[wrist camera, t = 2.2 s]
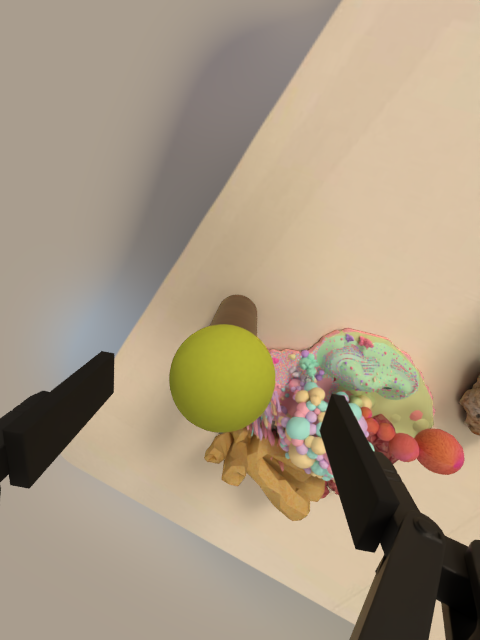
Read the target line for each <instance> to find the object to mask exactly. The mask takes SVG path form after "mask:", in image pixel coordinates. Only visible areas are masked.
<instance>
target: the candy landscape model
mask: <svg viewBox="0 0 480 640" xmlns="http://www.w3.org/2000/svg"><path fill="white" fill-rule="evenodd" d="M269 353H270V355H271V357H272V360H273V364H274V367H275V388H274V392H273V395H272V398H271V401H270V403H269V405H268V406H267V408H266V409H265V411H264V412H263V413H262V414H261V415H260V417H259V418H258V419H257V420H255V421H254V422H253V423H251V424H250V425H248V426H246V427H244V428H242V429H240V430H236V431H232V432H224V433H221V432H218V433H219V434H220V435H218V436H216V437H215V439H214V441H213V442H212V444H211V446H210V447H209V448H208V449H207V450H206V453H205V457H204V458H205V460H206V461H207V462H212V463H217V464H219V463H220V462H221V461H223V460H224V459H225V460H224V465H223V473H222V480H223V481H224V482H226V483H228V484H231V485H234V486H239V484H240V483H241V482H242V480H243V479H244V478H245V476H246V472H247V473H248V474H249V475H250V476H251V477H252V478H253V479H254V481H255V482H256V483H257V484H258V485H259V486H260V487H261V488H262V490H263V491H264V493H265V494H266V496H267V497H268V499H269V500H270V501H271V502H272V504H273V505H274V506H275V507H276V508H277V509H278V510H279V511H280V512H282V513H283V514H284V515H285V516H286V517H287V518H289V519H290V520H292V521H298V520H302V519H303V518H305V517H306V516H307V515H308V513H309V511H310V501H315V502H318V501H319V499H320V498H325V497H326V496H327V495H328V494H329V493H330V492H329V490H328V488H327V486H329V488H330V489H331V490H332V491H335V494H338V495H339V493H338V490H337V486H336V483H335V480H334V477H333V473H332V470H331V467H330V463H329V460H328V457H327V454H326V450H325V447H324V444H323V441H322V437H321V434H320V431H319V430H320V427H321V424H322V421H323V418H324V415H325V412H326V409H327V406H328V403H329V400H330V397H331V394H338V395H343V396H345V398H346V400H347V402H348V404H349V406H350V407H351V409H352V411H353V413H354V415H355V417H356V419H357V421H358V423H359V425H360V427H361V429H362V431H363V433H364V434H365V436H366V438H367V440H368V442H369V444H370V446H371V448H372V450H373V451H376V452H382V453H383V454H384V455H385V456H386V457H387V458H388V459H389V460H390V461H391V462H392V464H394V463H395V462H396V461H397V460H401V461H403V462H410V461H413V460H415V459H416V458H417V459H418V461H419V462H420V463H421V464H422V465H423V466H424V467H426V468H427V469H428V470H430V471H432V472H434V473H438V474H445V475H449V474H453V473H455V472H457V471H458V470H460V468H461V467H462V466H463V463H464V452H463V448H462V446H461V445H460V444H459V442H458V441H457V440H456V439H455V438H454V436H452V435H450V434H449V433H447V432H445V431H443V430H441V429H431V428H432V426H433V425H434V424H433V416H434V414H435V409H434V407H433V403H432V400H433V396H432V395H431V392H430V390H429V387H428V386H427V385H425V384H424V382H423V380H424V377H423V376H422V372H421V371H419V370H418V369H417V368H416V367H415V365H414V364H413V361H412V359H411V357H410V355H409V354H407V353H406V352H404V351H400V350H399V348H398V347H396V346H395V345H393V344H392V342H391V341H390V340H389V339H387V338H385V337H381V336H378V335H374V334H370V333H366V332H362V331H358V330H354V329H349V328H345V329H343V330H341V331H339V330H335V331H333V332H331V333H329V334H327V335H325V336H323V337H322V338H321V339H320V341H319V342H318V343H316V344H315V345H314V346H313V347H312V348H311V349H309V350H303V351H301V352H299V351H295V350H291V349H284V350H282V351H278V350H274V349H272V350H269ZM229 447H230V448H229Z"/></svg>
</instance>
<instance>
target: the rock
mask: <svg viewBox="0 0 480 640" xmlns="http://www.w3.org/2000/svg"><path fill="white" fill-rule="evenodd" d="M459 405H462V406H463V407H464V409H465V411H466V412H467V417H466V421H464V423H465V424H467V426H468V427H469V429H470V430H471V432H472V433H474V434H477V435H480V374H479V376H478V378H477V382H476V384H473V388H472V389H471V390H470V389H468V390H467V391H466V392H465V394H464V395H463V396H462V398H461V399H460V403H459Z"/></svg>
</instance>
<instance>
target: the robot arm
mask: <svg viewBox="0 0 480 640" xmlns="http://www.w3.org/2000/svg"><path fill="white" fill-rule="evenodd" d="M113 393H114V353H109V352H103V351H101V352H100V353H99V354H98V355H96V356H95V357H94V358H92V359H91V360H90V361H89V362H87V363H86V364H85V365H84V366H83V367H81V368H80V369H78V370H77V371H76V372H75V373H73V374H72V375H71V376H70V377H69V378H67V379H66V380H65V381H63V382H62V383H61V384H60V385H58V386H57V387H56V388H54V389H53V390H52V391H51V392H47V391H41V392H39V393H37V394H34V395H32V396H30V397H29V398H27V399H26V400H25V401H24V402H22V403H21V404H20V405H18V406H17V407H15V408H14V409H13V410H12V411H10V412H8V413H7V414H6V415H4V416H3V417H2V418H0V482H1V481H2V480H3V479H4V478H5V477H6V476H7V475H8V474H9V479H10V485H13V486H18V487H24V488H30V487H31V486H32V485H33V484H34V483H35V481H36V480H37V479H38V478H39V477H40V476H41V475H42V474H43V472H44V471H45V470H46V469H47V468H48V467H49V466H50V464H51V463H52V462H53V461H54V460H55V459H56V458H57V456H58V455H59V454H60V453H61V452H62V451H63V450H64V449H65V447H66V446H67V445H68V444H69V443H70V442H71V441H72V439H73V438H74V437H75V436H76V435H77V434H78V433H79V431H80V430H81V429H82V428H83V427H84V426H85V425H86V423H87V422H88V421H89V420H90V419H91V418H92V417H93V415H94V414H95V413H96V412H97V411H98V410H99V409H100V408H101V406H102V405H103V404H104V403H105V402H106V401H107V400H108V398H109V397H110V396H111V395H112V394H113ZM319 431H320V434H321V437H322V441H323V444H324V447H325V450H326V454H327V457H328V460H329V463H330V467H331V470H332V473H333V477H334V480H335V483H336V486H337V490H338V493H339V496H340V500H341V503H342V506H343V509H344V513H345V516H346V519H347V522H348V526H349V529H350V532H351V536H352V539H353V542H354V545H355V549H358V550H363V551H368V552H374V553H375V551H376V549H377V547H378V545H379V543H381V546H382V549H383V551H384V556H383V558H382V560H381V562H380V564H379V566H378V567H377V569H376V571H375V572H376V575H375V577H374V580H373V582H372V585H371V587H370V590H369V592H368V595H367V597H366V600H365V602H364V605H363V607H362V610H361V612H360V615H359V617H358V620H357V622H356V625H355V627H354V630H353V632H352V635H351V637H350V640H428V639H429V634H430V628H431V623H432V618H433V613H434V607H435V602H436V599H437V600H438V601H440V602H441V604H442V612H443V620H444V628H445V636H446V640H480V540H474V541H473V542H471V544H470V545H469V547H468V546H466V545H463V544H461V543H459V542H457V541H455V540H453V539H451V538H448V537H447V536H445V535H444V534H443V532H442V530H441V529H440V528H439V526H438V525H437V524H436V523H435V522H434V521H433V520H431V519H430V518H429V517H428V516H426V515H424V514H422V513H420V511H419V509H418V508H417V506H416V504H415V502H414V501H413V499H412V497H411V495H410V494H409V492H408V490H407V488H406V487H405V485H404V483H403V482H402V480H401V478H400V476H399V474H397V471H396V469H395V467H394V466H393V464H392V462H391V461H390V460H389V459H388V458H387V457H386V456H385V455H384V454H383V453H382V452H376V451H373V450H372V448H371V446H370V444H369V442H368V440H367V438H366V436H365V434H364V433H363V431H362V429H361V427H360V425H359V423H358V421H357V419H356V417H355V415H354V413H353V411H352V409H351V407H350V406H349V404H348V402H347V400H346V398H345V396H343V395H338V394H331V397H330V400H329V403H328V406H327V409H326V412H325V415H324V418H323V421H322V424H321V427H320V430H319ZM0 491H1V487H0ZM0 494H1V492H0Z"/></svg>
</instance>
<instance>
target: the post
mask: <svg viewBox="0 0 480 640" xmlns="http://www.w3.org/2000/svg"><path fill="white" fill-rule="evenodd" d="M220 324H227V325H234V326H238V327H241V328H243V329H245V330H247V331H249V332H251V333H252V334H254V335H255V336H256V337H257V309H256V306H255V304H254V303H253V302H252V301H251V300H250V299H249V298H247V297H245V296H242V295H232V296H229V297H227V298H226V299H224V300H223V301H222V303H221V304H220V306H219V308H218V310H217V312H216V314H215V316H214V318H213V321H212V323H211V325H210V326H212V325H220Z"/></svg>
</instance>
